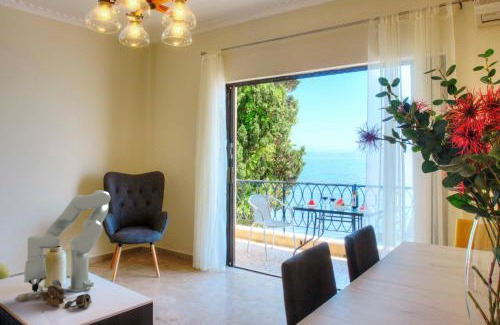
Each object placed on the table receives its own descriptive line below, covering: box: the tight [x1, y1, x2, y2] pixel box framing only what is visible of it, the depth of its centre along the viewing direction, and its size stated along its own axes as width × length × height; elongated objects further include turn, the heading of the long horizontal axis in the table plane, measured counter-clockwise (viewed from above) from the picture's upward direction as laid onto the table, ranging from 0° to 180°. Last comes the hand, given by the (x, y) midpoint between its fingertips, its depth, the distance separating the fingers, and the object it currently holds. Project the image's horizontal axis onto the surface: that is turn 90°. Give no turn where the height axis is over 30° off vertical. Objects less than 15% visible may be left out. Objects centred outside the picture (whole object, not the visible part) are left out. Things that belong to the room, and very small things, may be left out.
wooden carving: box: [41, 284, 67, 307], centre depth 186 cm, size 16×5×10 cm, turn 70°
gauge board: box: [17, 279, 62, 303], centre depth 199 cm, size 20×10×6 cm, turn 127°
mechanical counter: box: [64, 293, 93, 310], centre depth 184 cm, size 7×13×10 cm
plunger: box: [38, 283, 44, 294], centre depth 198 cm, size 1×8×4 cm, turn 37°
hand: (35, 291), depth 197 cm, fingers closed
